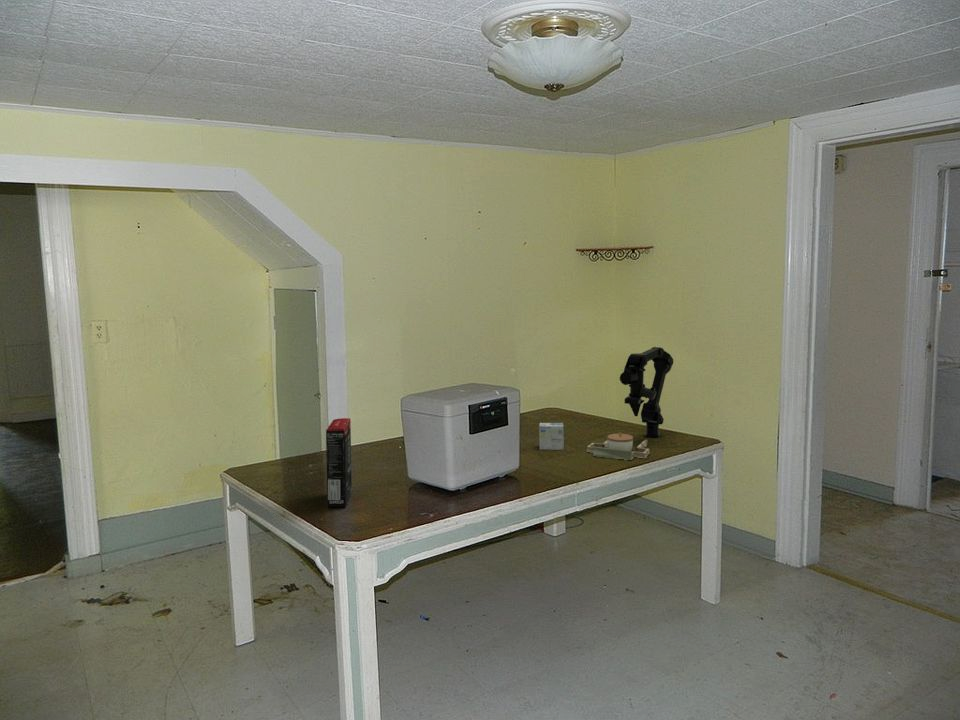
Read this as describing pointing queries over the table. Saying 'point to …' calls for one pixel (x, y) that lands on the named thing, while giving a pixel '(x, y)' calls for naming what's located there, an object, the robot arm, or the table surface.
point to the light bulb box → (551, 436)
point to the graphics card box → (338, 462)
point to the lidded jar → (620, 441)
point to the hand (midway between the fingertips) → (636, 416)
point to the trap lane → (618, 451)
